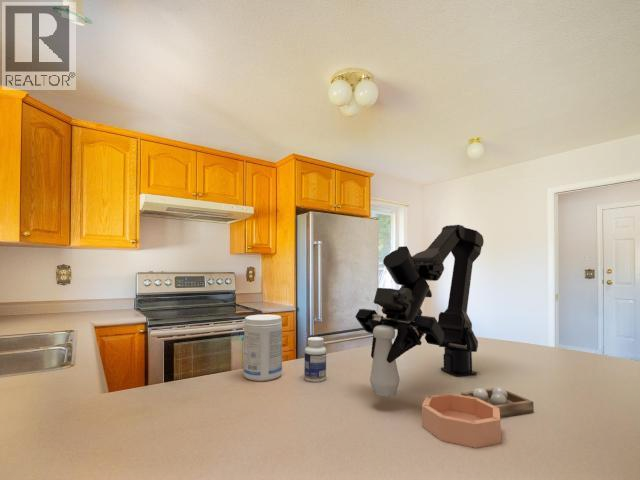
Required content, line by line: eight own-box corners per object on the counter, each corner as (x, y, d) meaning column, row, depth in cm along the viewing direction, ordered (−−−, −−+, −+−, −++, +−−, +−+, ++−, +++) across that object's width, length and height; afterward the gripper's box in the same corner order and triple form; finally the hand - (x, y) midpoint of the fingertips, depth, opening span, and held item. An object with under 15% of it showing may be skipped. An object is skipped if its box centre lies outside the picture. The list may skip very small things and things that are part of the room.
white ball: (499, 397, 70) (499, 384, 70) (511, 403, 67) (510, 388, 68) (489, 399, 69) (488, 385, 69) (500, 404, 67) (499, 390, 67)
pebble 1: (480, 399, 69) (480, 385, 69) (491, 404, 67) (491, 389, 67) (469, 400, 68) (469, 386, 69) (480, 406, 66) (480, 391, 66)
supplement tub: (277, 368, 91) (278, 313, 92) (286, 379, 82) (287, 318, 83) (240, 372, 88) (242, 314, 89) (245, 384, 79) (247, 320, 80)
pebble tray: (499, 397, 72) (499, 387, 72) (533, 412, 64) (533, 401, 65) (461, 402, 69) (461, 392, 69) (492, 419, 61) (492, 408, 61)
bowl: (463, 409, 65) (463, 391, 66) (518, 439, 54) (517, 416, 54) (410, 417, 62) (410, 398, 62) (456, 451, 50) (456, 427, 51)
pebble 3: (498, 404, 67) (498, 389, 67) (510, 410, 64) (510, 394, 64) (487, 406, 66) (487, 391, 66) (499, 411, 63) (498, 396, 63)
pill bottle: (303, 375, 85) (304, 336, 86) (324, 375, 86) (325, 336, 87) (304, 382, 80) (305, 340, 81) (327, 382, 81) (327, 340, 81)
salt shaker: (397, 387, 69) (397, 323, 70) (401, 398, 64) (401, 329, 65) (369, 386, 70) (368, 323, 71) (370, 397, 64) (370, 328, 65)
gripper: (360, 273, 78) (326, 327, 70) (435, 275, 65) (404, 342, 56) (381, 304, 83) (351, 359, 75) (455, 312, 70) (429, 380, 61)
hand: (380, 359), depth 66 cm, fingers closed on salt shaker, 3 cm apart
